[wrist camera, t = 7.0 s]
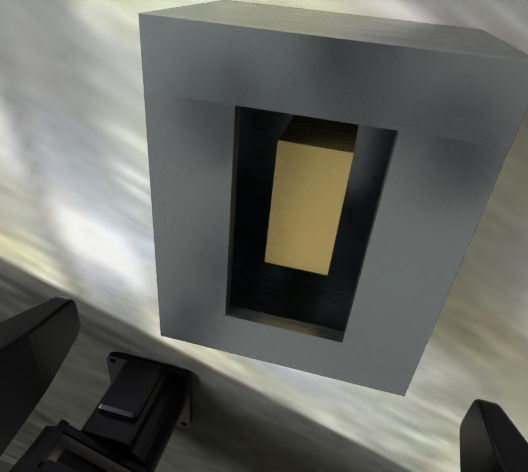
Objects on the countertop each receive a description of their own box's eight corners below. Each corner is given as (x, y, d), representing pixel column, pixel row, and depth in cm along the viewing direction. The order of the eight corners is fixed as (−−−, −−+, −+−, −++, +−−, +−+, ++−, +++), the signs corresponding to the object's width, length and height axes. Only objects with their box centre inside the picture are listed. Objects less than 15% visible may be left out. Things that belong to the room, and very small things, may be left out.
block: (338, 214, 20) (327, 275, 16) (288, 204, 21) (264, 261, 17) (360, 111, 18) (353, 153, 13) (302, 102, 18) (277, 140, 14)
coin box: (398, 280, 22) (404, 396, 16) (218, 242, 24) (160, 335, 18) (481, 29, 16) (545, 64, 10) (225, -1, 17) (138, 13, 11)
